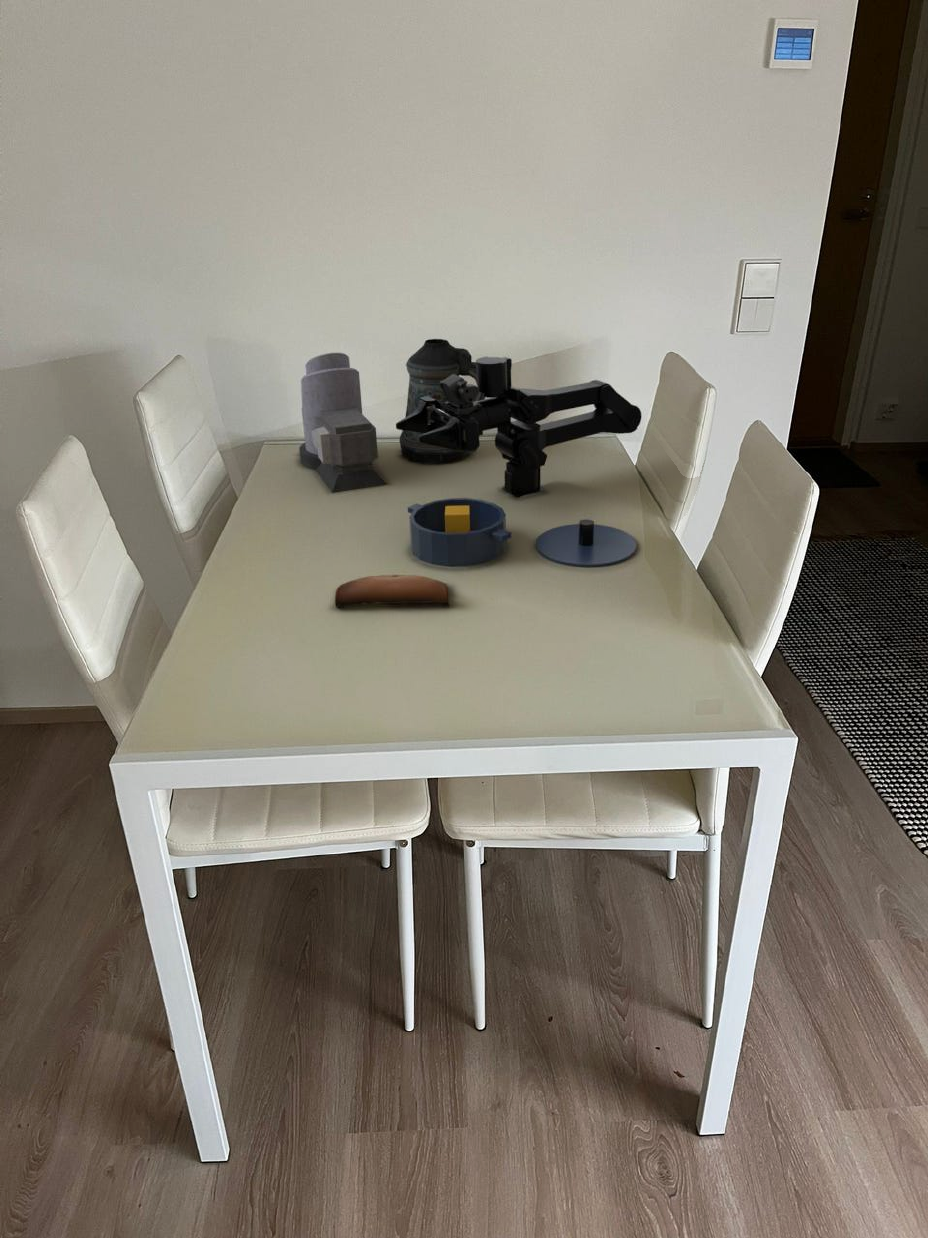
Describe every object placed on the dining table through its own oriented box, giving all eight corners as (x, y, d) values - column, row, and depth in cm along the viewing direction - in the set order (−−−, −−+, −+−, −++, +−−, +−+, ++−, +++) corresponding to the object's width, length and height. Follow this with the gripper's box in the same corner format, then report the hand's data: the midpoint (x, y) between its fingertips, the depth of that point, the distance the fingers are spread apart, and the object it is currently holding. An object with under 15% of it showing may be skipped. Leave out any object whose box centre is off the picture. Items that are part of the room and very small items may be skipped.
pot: (443, 520, 183) (442, 488, 180) (536, 549, 170) (536, 515, 167) (381, 549, 172) (379, 515, 169) (475, 582, 159) (474, 546, 156)
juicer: (293, 451, 222) (280, 343, 210) (360, 442, 227) (351, 336, 215) (321, 493, 197) (309, 374, 185) (396, 482, 202) (389, 365, 190)
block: (470, 541, 172) (469, 505, 169) (470, 551, 169) (469, 514, 165) (447, 542, 172) (445, 505, 169) (446, 552, 169) (444, 514, 165)
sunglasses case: (450, 581, 158) (448, 558, 152) (450, 618, 155) (448, 596, 149) (341, 584, 158) (335, 561, 153) (338, 621, 155) (332, 599, 149)
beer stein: (394, 445, 224) (387, 335, 212) (475, 437, 227) (472, 329, 215) (407, 468, 209) (400, 352, 197) (493, 459, 213) (492, 344, 201)
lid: (573, 521, 180) (574, 496, 178) (655, 544, 170) (657, 518, 168) (515, 552, 169) (515, 526, 166) (599, 579, 158) (600, 551, 156)
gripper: (454, 363, 186) (381, 378, 179) (505, 384, 172) (428, 401, 165) (457, 419, 191) (386, 435, 185) (506, 444, 177) (432, 463, 171)
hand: (407, 432), depth 176 cm, fingers open, 9 cm apart
